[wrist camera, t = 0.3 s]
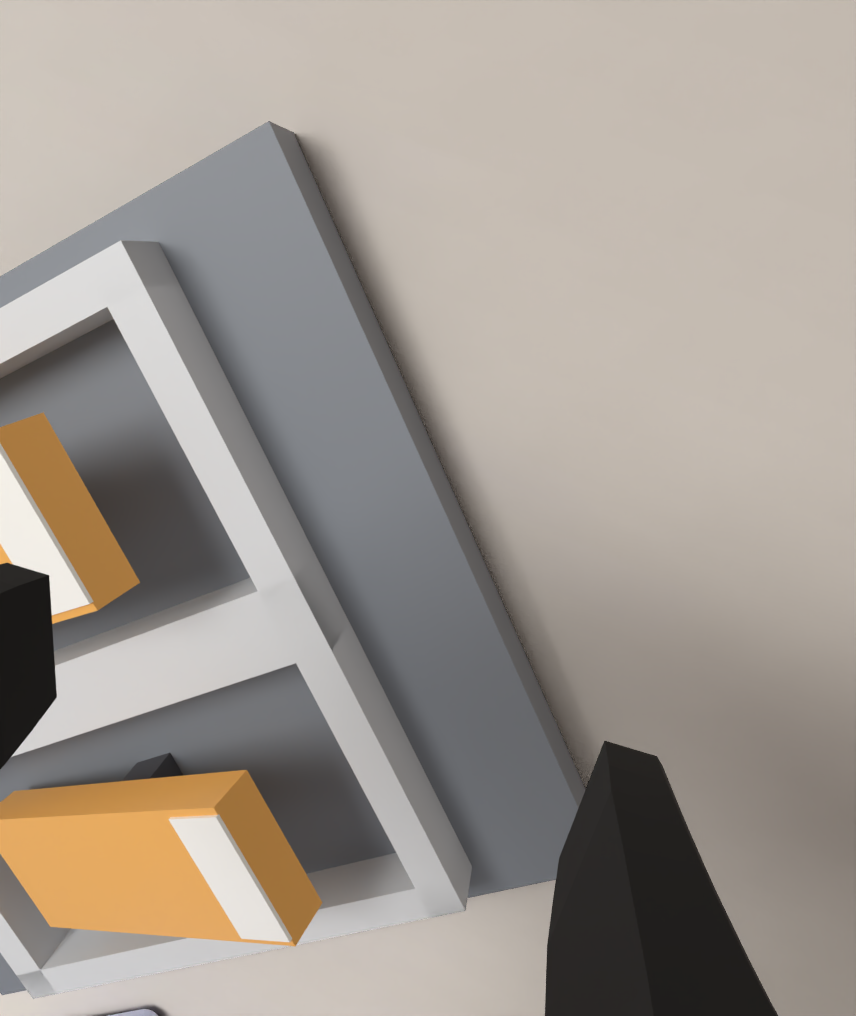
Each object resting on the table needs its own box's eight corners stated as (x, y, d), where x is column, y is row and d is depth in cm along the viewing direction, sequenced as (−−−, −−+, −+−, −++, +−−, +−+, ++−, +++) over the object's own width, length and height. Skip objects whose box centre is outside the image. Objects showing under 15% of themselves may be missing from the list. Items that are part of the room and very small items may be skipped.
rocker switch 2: (82, 893, 23) (48, 928, 22) (13, 791, 22) (-25, 822, 21) (322, 902, 18) (293, 949, 17) (246, 769, 17) (211, 809, 16)
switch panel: (30, 957, 27) (-31, 1036, 25) (-309, 473, 23) (-430, 503, 20) (602, 828, 21) (608, 915, 19) (293, 132, 17) (239, 106, 14)
